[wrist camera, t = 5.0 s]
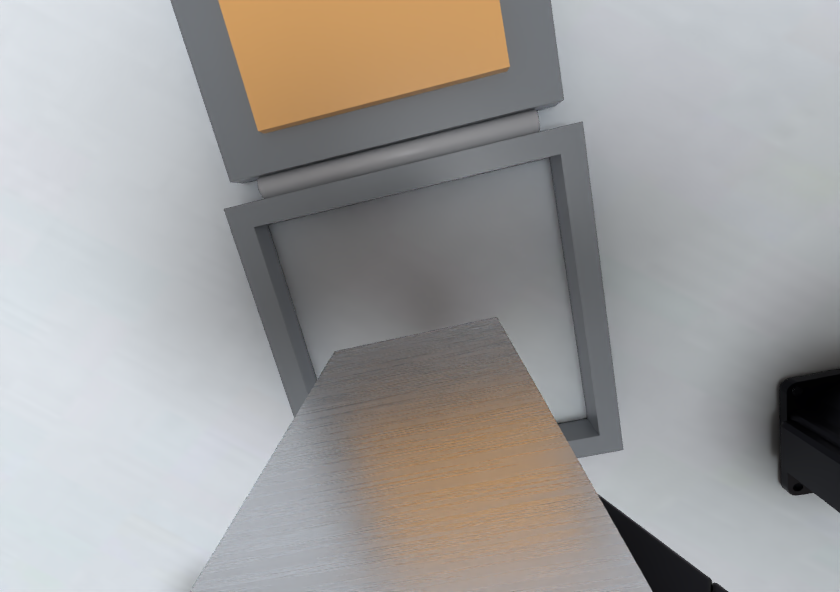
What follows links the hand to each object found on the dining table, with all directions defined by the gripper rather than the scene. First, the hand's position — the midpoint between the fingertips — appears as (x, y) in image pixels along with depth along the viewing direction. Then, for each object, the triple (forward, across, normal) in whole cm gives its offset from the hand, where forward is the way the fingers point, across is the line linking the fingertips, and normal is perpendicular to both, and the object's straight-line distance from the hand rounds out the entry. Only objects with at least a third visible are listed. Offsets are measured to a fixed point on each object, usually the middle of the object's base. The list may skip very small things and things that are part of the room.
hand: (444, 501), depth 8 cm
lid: (+12, 0, -14) cm, 19 cm away
